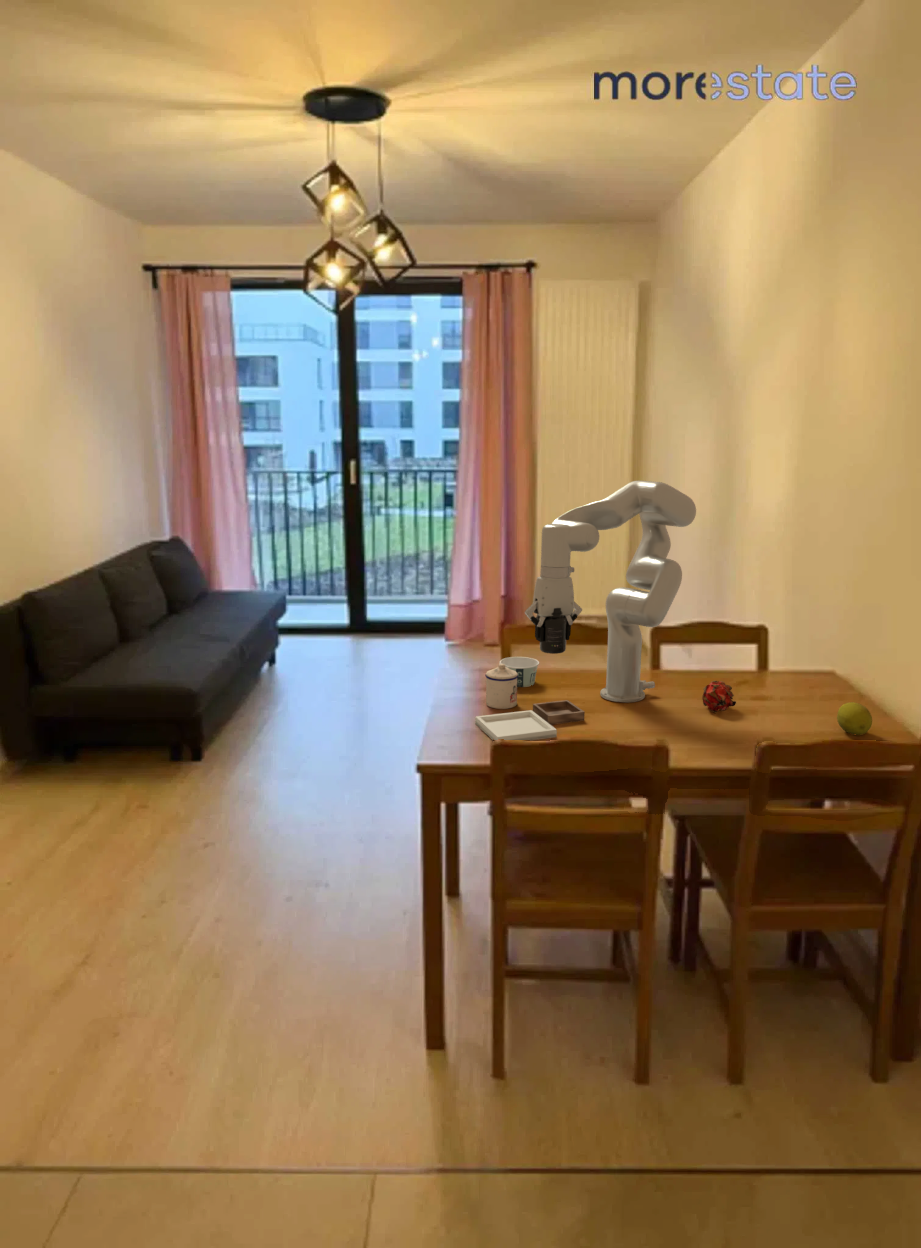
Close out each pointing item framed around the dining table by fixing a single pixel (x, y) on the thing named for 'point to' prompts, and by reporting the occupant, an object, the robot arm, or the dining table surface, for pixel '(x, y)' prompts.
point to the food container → (522, 669)
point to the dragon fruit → (718, 696)
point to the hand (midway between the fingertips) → (552, 639)
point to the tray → (516, 726)
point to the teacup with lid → (501, 687)
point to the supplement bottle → (554, 633)
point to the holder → (559, 712)
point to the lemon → (854, 718)
